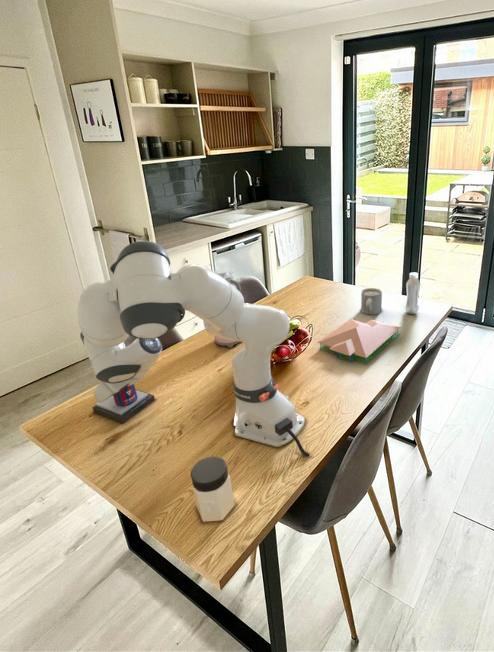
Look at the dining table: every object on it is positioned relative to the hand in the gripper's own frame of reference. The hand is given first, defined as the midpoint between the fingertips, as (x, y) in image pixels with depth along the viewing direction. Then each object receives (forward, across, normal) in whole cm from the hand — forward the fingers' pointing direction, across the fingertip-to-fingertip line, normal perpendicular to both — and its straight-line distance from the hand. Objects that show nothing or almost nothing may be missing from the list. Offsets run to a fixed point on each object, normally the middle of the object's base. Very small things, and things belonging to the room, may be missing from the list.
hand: (118, 388), depth 131 cm
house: (-35, -69, +49) cm, 91 cm away
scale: (+5, 0, +5) cm, 7 cm away
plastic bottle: (-45, -107, +59) cm, 130 cm away
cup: (+3, 0, +4) cm, 5 cm away
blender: (0, -50, +12) cm, 52 cm away
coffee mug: (-31, -101, +45) cm, 115 cm away
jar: (-33, +20, +44) cm, 58 cm away
